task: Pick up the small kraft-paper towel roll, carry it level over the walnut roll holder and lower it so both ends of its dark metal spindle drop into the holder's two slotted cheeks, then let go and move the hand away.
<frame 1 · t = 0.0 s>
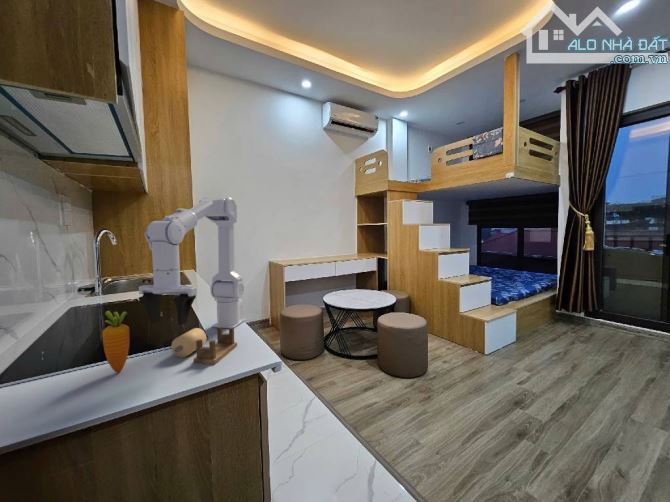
hand: (169, 322, 71), 10 cm above the worktop, tool pointing down, fingers open, 7 cm apart
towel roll: (189, 342, 77), point 3 cm above the worktop
carrot: (118, 373, 66), on the worktop
roll holder: (216, 353, 76), on the worktop
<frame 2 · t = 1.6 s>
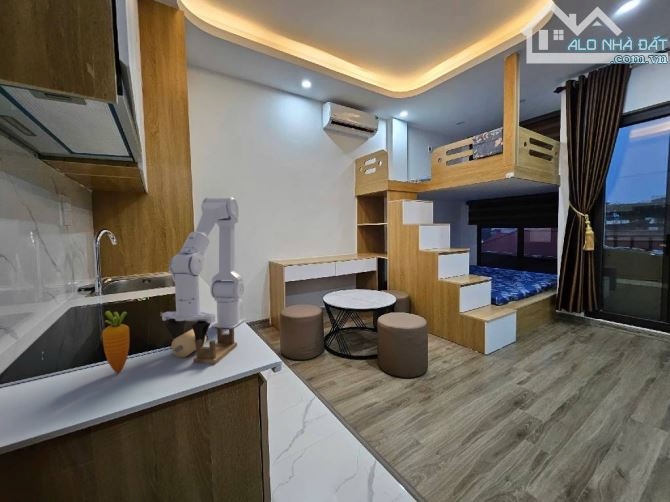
hand: (189, 346, 77), 1 cm above the worktop, tool pointing down, fingers closed on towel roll, 5 cm apart
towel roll: (189, 341, 77), point 3 cm above the worktop, touching gripper
everything else where it was.
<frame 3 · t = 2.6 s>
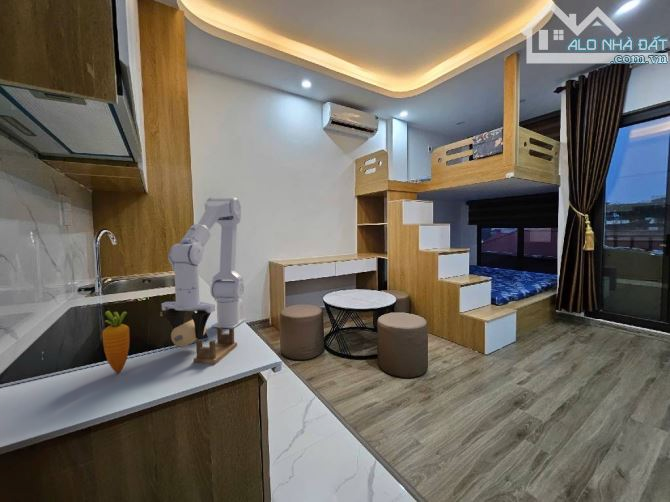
hand: (189, 336, 77), 4 cm above the worktop, tool pointing down, fingers closed on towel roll, 5 cm apart
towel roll: (189, 332, 77), point 5 cm above the worktop, touching gripper
everything else where it was.
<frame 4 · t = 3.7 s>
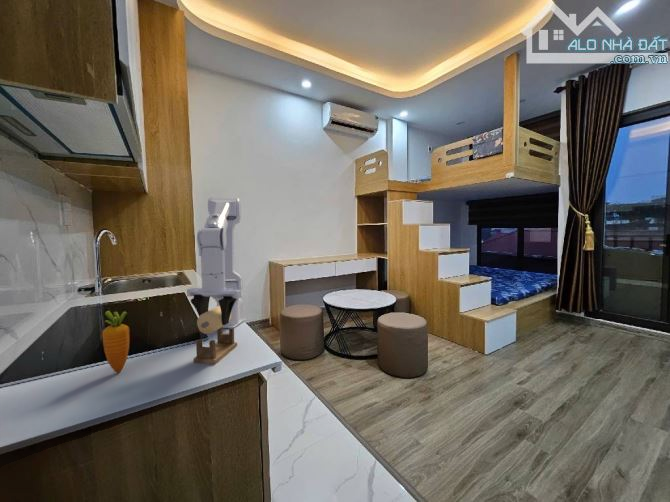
hand: (215, 323, 76), 8 cm above the worktop, tool pointing down, fingers closed on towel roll, 5 cm apart
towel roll: (214, 319, 76), point 10 cm above the worktop, touching gripper
everything else where it was.
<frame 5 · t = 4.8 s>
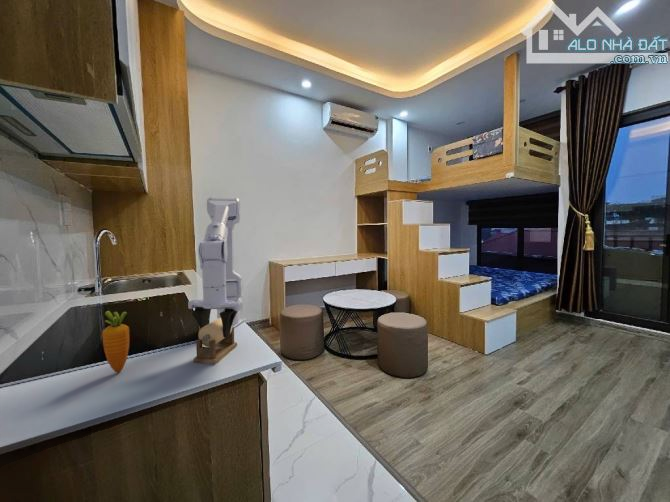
hand: (216, 335, 76), 5 cm above the worktop, tool pointing down, fingers closed on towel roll, 5 cm apart
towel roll: (215, 331, 76), point 6 cm above the worktop, touching gripper
everything else where it was.
when the fingers open (4 cm above the worktop, at t = 5.7 s): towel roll stays where it is, resting on roll holder.
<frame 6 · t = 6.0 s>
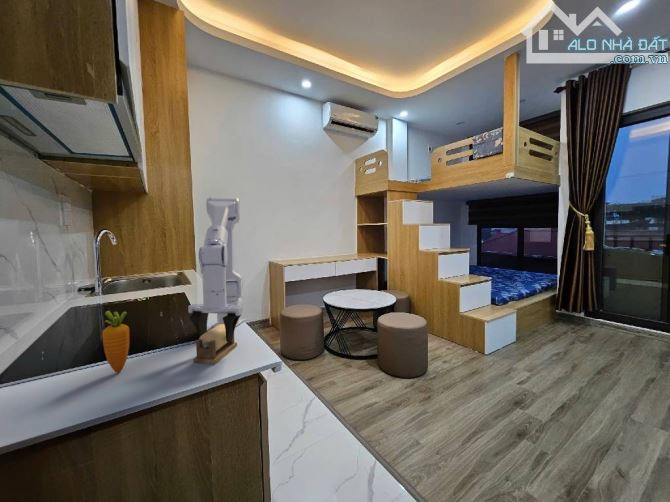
hand: (216, 339, 76), 4 cm above the worktop, tool pointing down, fingers open, 7 cm apart
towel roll: (215, 338, 76), point 4 cm above the worktop, tilted 6°, touching roll holder
everything else where it was.
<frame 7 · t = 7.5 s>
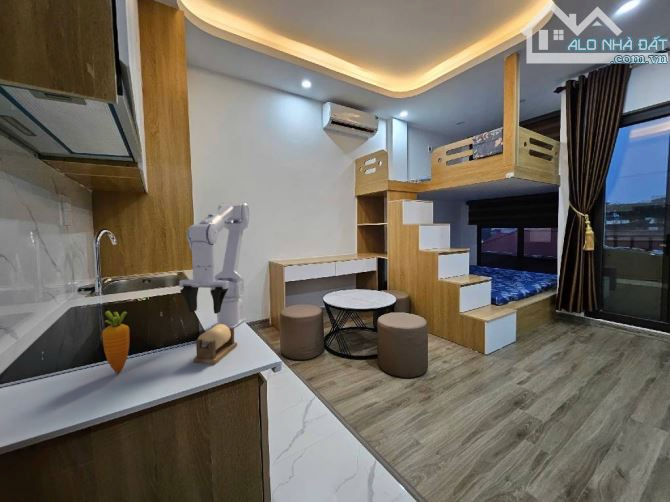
hand: (205, 311, 83), 9 cm above the worktop, tool pointing down, fingers open, 7 cm apart
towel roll: (214, 338, 76), point 4 cm above the worktop, tilted 39°, touching roll holder
everything else where it was.
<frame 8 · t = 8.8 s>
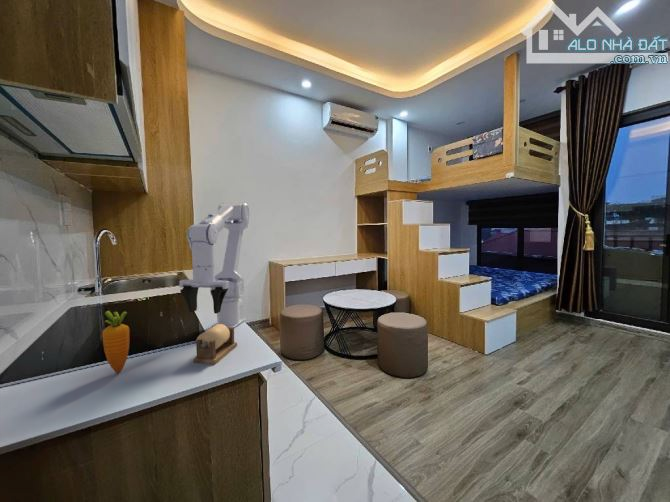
hand: (205, 311, 83), 9 cm above the worktop, tool pointing down, fingers open, 7 cm apart
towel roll: (213, 338, 76), point 4 cm above the worktop, tilted 64°, touching roll holder
everything else where it was.
at the end: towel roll 0.7 cm off-centre on the roll holder, point 4.2 cm above the roll holder's base; the gripper is holding nothing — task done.
